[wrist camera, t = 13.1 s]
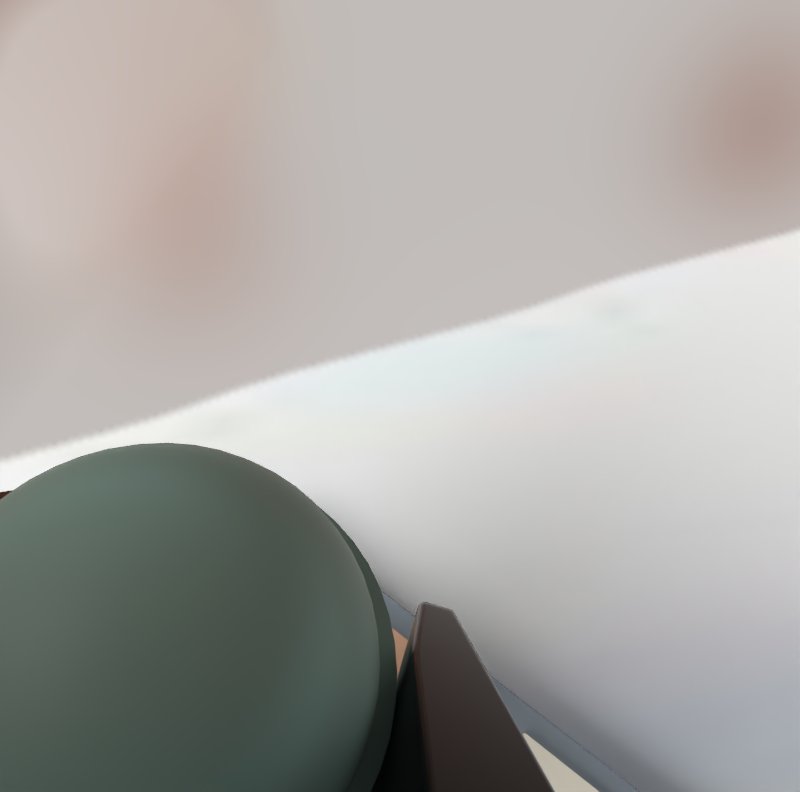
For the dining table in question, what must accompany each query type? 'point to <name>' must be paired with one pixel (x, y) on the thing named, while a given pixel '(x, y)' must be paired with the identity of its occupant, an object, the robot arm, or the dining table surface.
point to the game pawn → (186, 632)
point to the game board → (533, 731)
